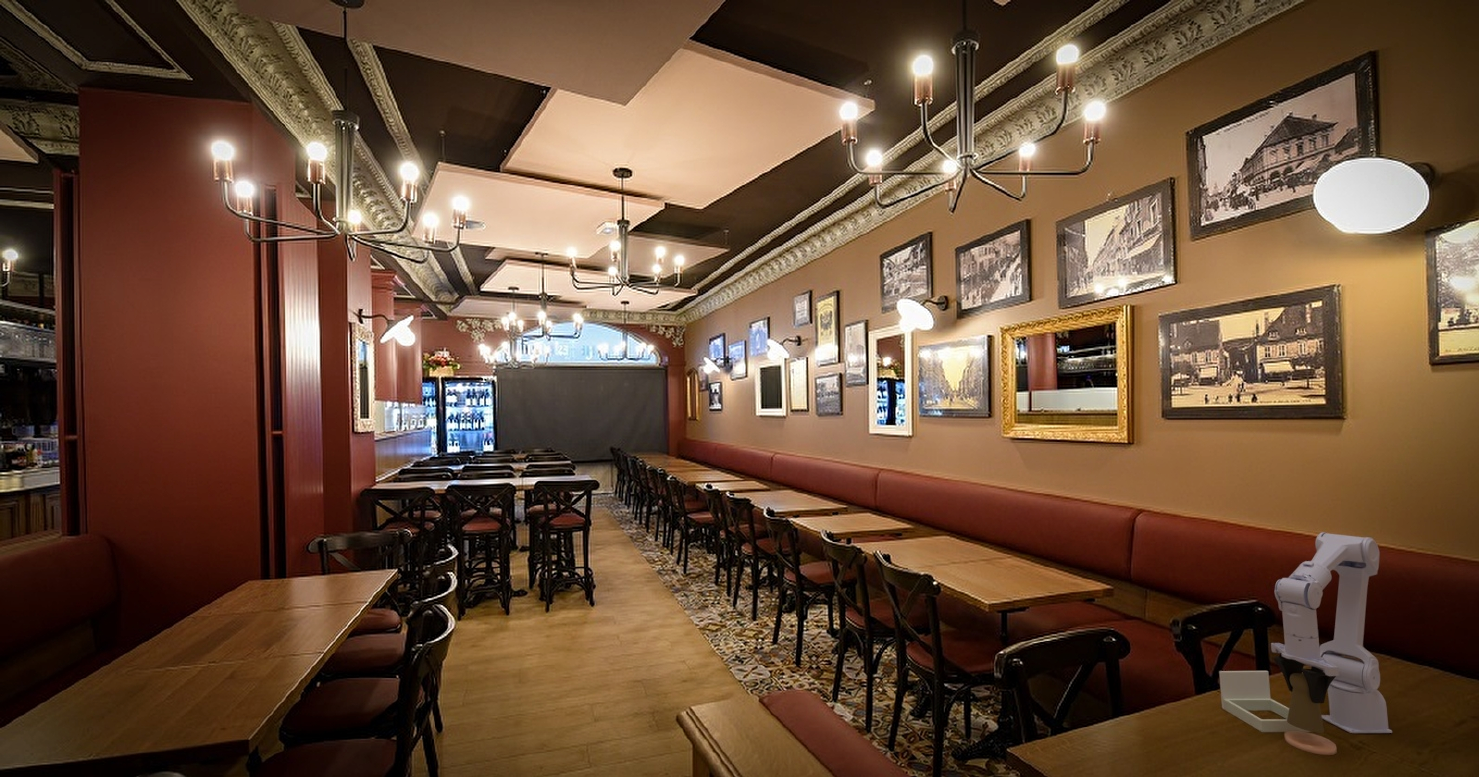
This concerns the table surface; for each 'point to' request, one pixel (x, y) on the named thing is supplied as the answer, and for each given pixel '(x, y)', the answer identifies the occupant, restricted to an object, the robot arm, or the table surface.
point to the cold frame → (1252, 700)
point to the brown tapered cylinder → (1303, 706)
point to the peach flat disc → (1310, 742)
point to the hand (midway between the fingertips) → (1306, 696)
